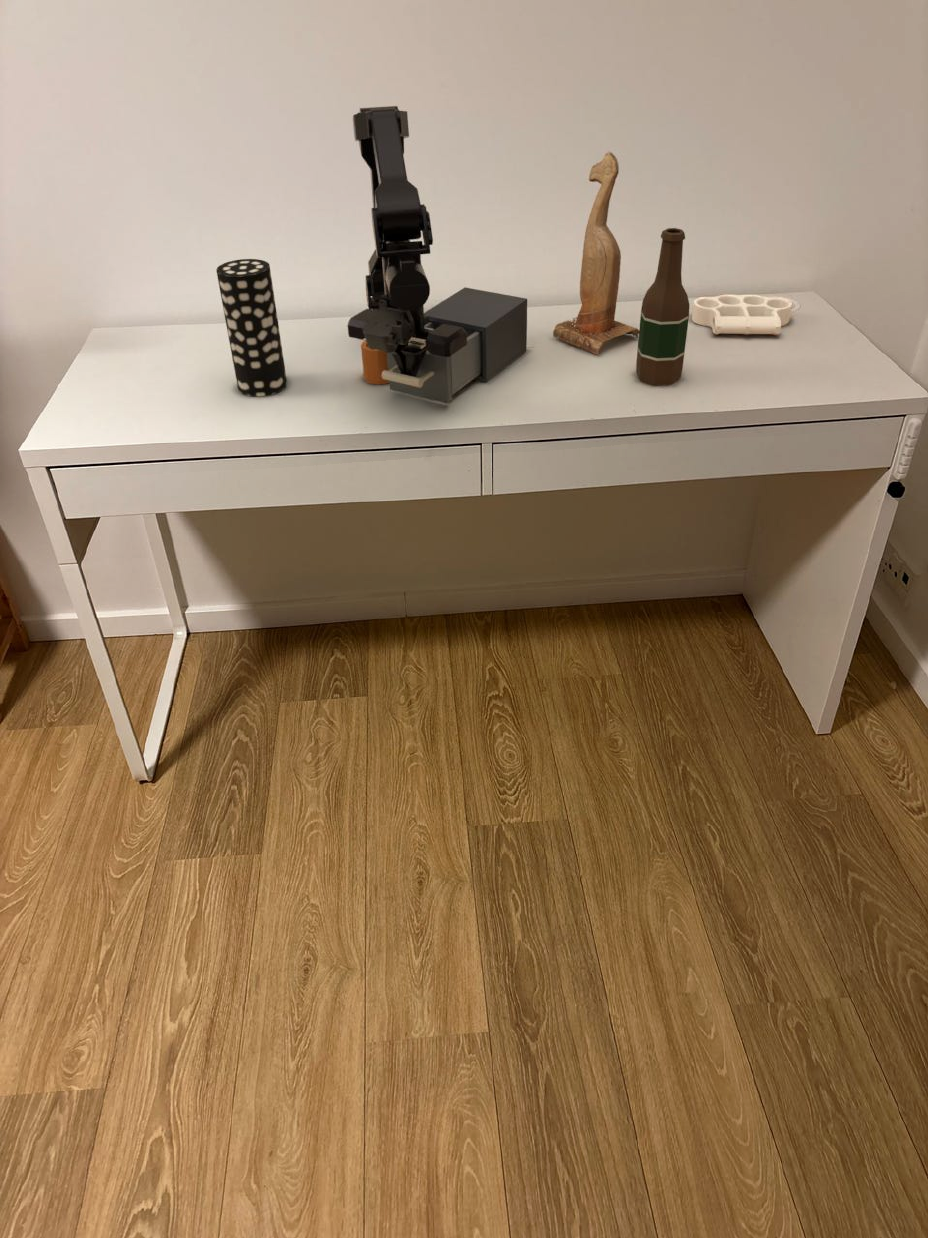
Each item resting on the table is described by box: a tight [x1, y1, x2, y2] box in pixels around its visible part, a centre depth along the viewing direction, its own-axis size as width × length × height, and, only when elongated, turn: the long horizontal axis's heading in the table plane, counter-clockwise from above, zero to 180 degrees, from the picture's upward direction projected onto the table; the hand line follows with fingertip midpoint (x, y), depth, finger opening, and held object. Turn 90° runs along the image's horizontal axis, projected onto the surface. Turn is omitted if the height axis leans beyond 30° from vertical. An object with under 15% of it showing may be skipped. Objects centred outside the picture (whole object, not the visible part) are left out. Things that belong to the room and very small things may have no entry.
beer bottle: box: [635, 227, 691, 387], centre depth 156 cm, size 8×8×24 cm
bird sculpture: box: [552, 150, 639, 355], centre depth 167 cm, size 11×12×32 cm
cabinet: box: [424, 286, 528, 383], centre depth 168 cm, size 15×13×10 cm
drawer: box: [382, 321, 483, 405], centre depth 159 cm, size 18×11×8 cm, turn 150°
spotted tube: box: [215, 258, 288, 397], centre depth 159 cm, size 8×8×20 cm
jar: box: [360, 340, 389, 385], centre depth 165 cm, size 5×5×6 cm
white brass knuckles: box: [691, 293, 793, 336], centre depth 180 cm, size 3×18×15 cm
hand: (409, 383), depth 154 cm, fingers closed, pressing on drawer
